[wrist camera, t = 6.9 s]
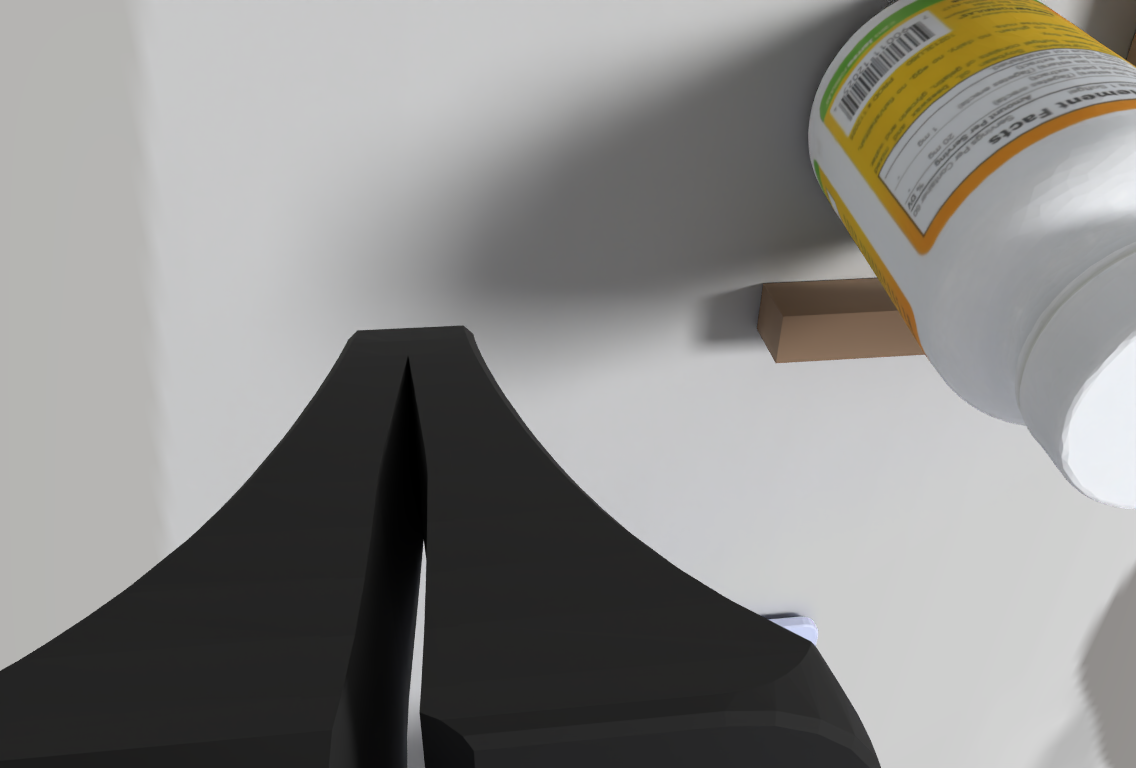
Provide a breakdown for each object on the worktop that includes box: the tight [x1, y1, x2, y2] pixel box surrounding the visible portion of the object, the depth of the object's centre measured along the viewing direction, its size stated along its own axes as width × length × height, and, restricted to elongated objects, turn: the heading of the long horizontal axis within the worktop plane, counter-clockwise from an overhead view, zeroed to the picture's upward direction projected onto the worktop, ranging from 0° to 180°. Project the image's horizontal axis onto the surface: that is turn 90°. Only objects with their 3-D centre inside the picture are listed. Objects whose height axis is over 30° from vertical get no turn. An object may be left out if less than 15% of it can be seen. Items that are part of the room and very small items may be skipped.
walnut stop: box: [757, 33, 1136, 363], centre depth 20 cm, size 10×8×2 cm
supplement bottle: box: [808, 0, 1136, 509], centre depth 17 cm, size 5×5×10 cm
